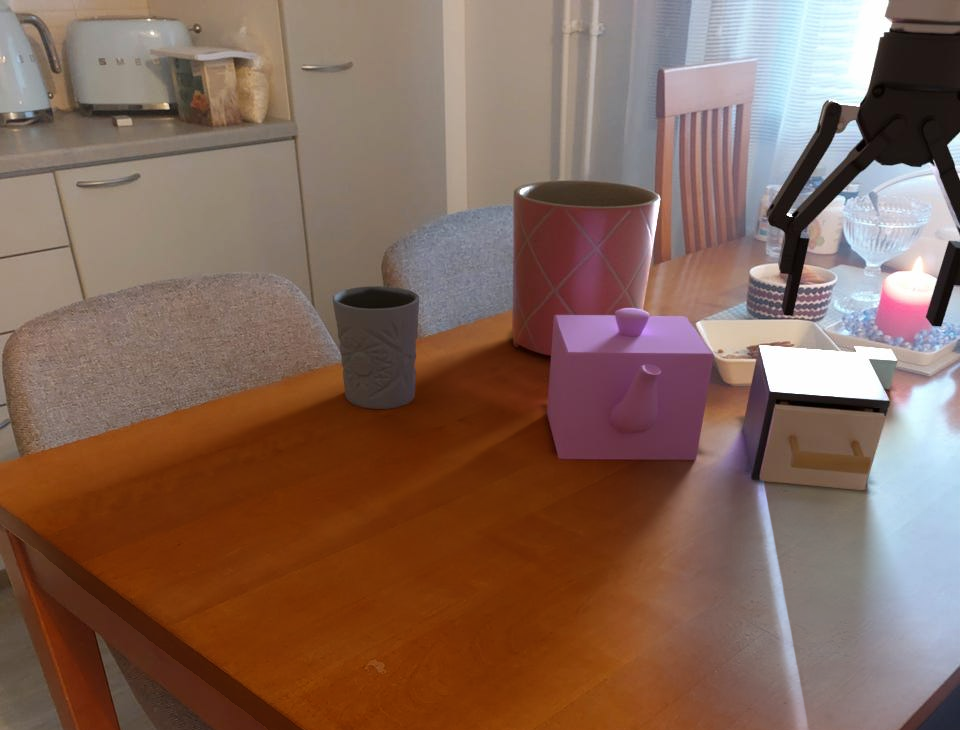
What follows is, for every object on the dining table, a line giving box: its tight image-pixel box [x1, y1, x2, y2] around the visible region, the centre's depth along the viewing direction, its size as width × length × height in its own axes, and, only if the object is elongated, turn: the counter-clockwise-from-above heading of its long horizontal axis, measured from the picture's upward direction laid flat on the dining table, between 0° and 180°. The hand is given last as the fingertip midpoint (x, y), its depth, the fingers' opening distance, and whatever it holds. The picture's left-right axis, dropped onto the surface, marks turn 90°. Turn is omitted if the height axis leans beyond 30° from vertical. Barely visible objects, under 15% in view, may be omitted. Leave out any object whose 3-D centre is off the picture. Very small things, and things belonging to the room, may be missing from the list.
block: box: [852, 346, 899, 390], centre depth 119 cm, size 5×5×5 cm
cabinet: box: [742, 345, 891, 481], centre depth 100 cm, size 15×12×10 cm
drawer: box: [759, 399, 887, 491], centre depth 95 cm, size 19×10×8 cm, turn 170°
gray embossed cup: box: [332, 285, 420, 410], centre depth 111 cm, size 10×10×12 cm
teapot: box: [546, 308, 715, 461], centre depth 101 cm, size 15×25×14 cm, turn 2°
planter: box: [511, 179, 661, 357], centre depth 126 cm, size 19×19×20 cm
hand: (859, 316), depth 83 cm, fingers open, 12 cm apart
